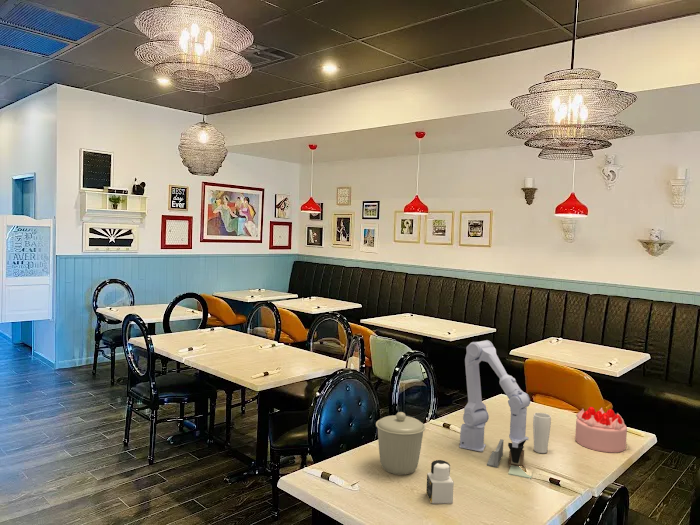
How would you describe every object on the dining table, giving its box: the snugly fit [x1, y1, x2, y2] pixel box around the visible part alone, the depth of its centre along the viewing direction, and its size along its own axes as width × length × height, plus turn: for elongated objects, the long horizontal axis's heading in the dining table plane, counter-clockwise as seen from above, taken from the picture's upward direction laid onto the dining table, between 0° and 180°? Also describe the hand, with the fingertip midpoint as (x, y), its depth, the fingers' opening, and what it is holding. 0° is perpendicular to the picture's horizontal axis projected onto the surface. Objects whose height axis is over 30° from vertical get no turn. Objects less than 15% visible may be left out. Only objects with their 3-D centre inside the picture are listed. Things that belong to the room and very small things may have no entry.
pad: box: [507, 465, 533, 480], centre depth 196 cm, size 8×8×1 cm
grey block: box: [486, 438, 505, 469], centre depth 207 cm, size 4×14×6 cm, turn 156°
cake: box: [574, 406, 628, 454], centre depth 228 cm, size 20×20×14 cm
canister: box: [375, 411, 426, 476], centre depth 195 cm, size 18×18×21 cm
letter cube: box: [508, 449, 525, 466], centre depth 204 cm, size 5×5×5 cm
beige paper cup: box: [532, 412, 552, 454], centre depth 217 cm, size 7×7×15 cm
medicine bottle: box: [426, 459, 454, 504], centre depth 174 cm, size 7×7×12 cm
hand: (516, 459), depth 204 cm, fingers closed on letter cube, 5 cm apart
